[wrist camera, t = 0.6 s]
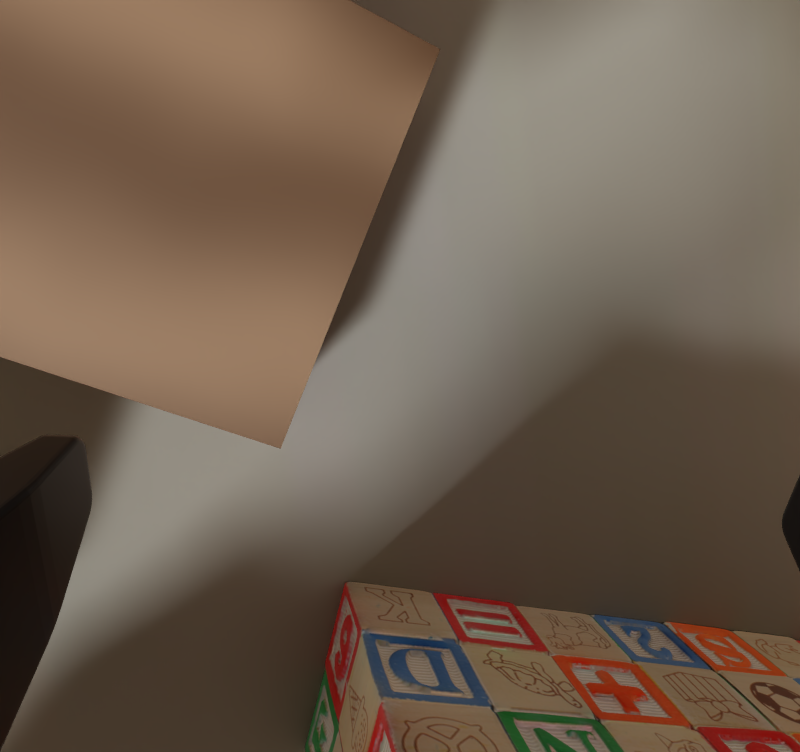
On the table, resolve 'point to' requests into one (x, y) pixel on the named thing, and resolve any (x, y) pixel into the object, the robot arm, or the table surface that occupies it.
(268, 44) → the walnut base
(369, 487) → the table surface
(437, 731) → the stack of blocks
